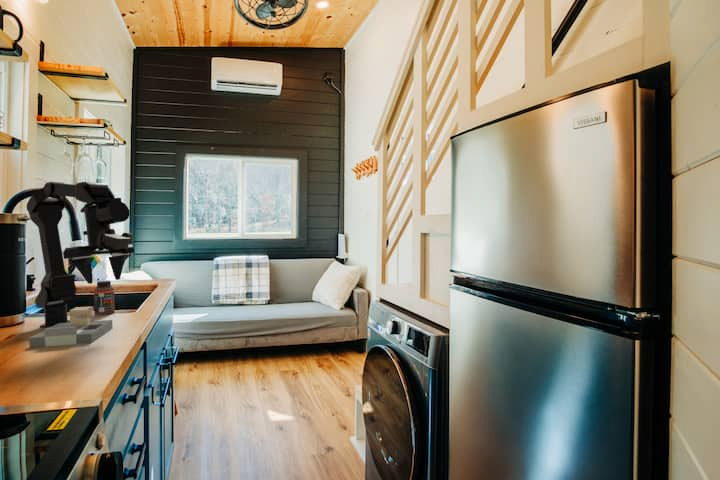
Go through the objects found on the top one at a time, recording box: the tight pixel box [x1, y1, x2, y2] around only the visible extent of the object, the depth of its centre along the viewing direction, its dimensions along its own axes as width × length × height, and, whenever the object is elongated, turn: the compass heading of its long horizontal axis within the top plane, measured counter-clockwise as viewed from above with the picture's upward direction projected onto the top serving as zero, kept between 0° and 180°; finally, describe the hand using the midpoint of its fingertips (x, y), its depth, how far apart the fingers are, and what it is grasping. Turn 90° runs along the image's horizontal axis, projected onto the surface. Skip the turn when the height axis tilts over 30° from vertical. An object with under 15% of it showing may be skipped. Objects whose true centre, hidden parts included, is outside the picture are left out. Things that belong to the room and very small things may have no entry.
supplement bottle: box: [93, 280, 116, 316], centre depth 147 cm, size 6×6×11 cm
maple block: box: [69, 305, 95, 326], centre depth 122 cm, size 4×4×4 cm
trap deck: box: [28, 319, 113, 349], centre depth 116 cm, size 16×14×4 cm
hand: (104, 281), depth 120 cm, fingers open, 9 cm apart
